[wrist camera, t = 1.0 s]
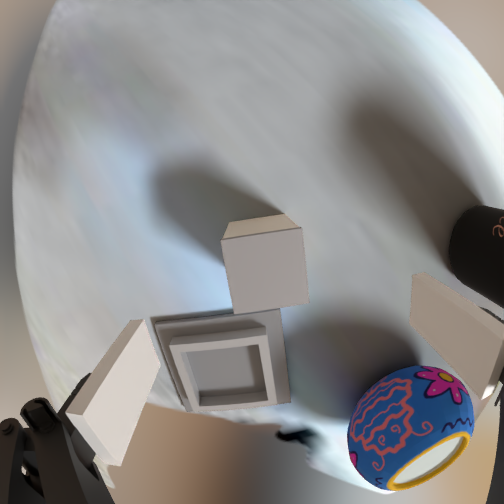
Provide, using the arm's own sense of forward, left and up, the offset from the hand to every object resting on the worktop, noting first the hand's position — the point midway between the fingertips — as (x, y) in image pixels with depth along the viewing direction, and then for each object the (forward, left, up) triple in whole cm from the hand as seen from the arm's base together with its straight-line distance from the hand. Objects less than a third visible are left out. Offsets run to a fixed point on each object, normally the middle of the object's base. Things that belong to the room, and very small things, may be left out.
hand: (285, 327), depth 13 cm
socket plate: (+14, -6, -17) cm, 23 cm away
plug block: (0, 0, -17) cm, 17 cm away
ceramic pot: (+25, +16, -17) cm, 34 cm away
